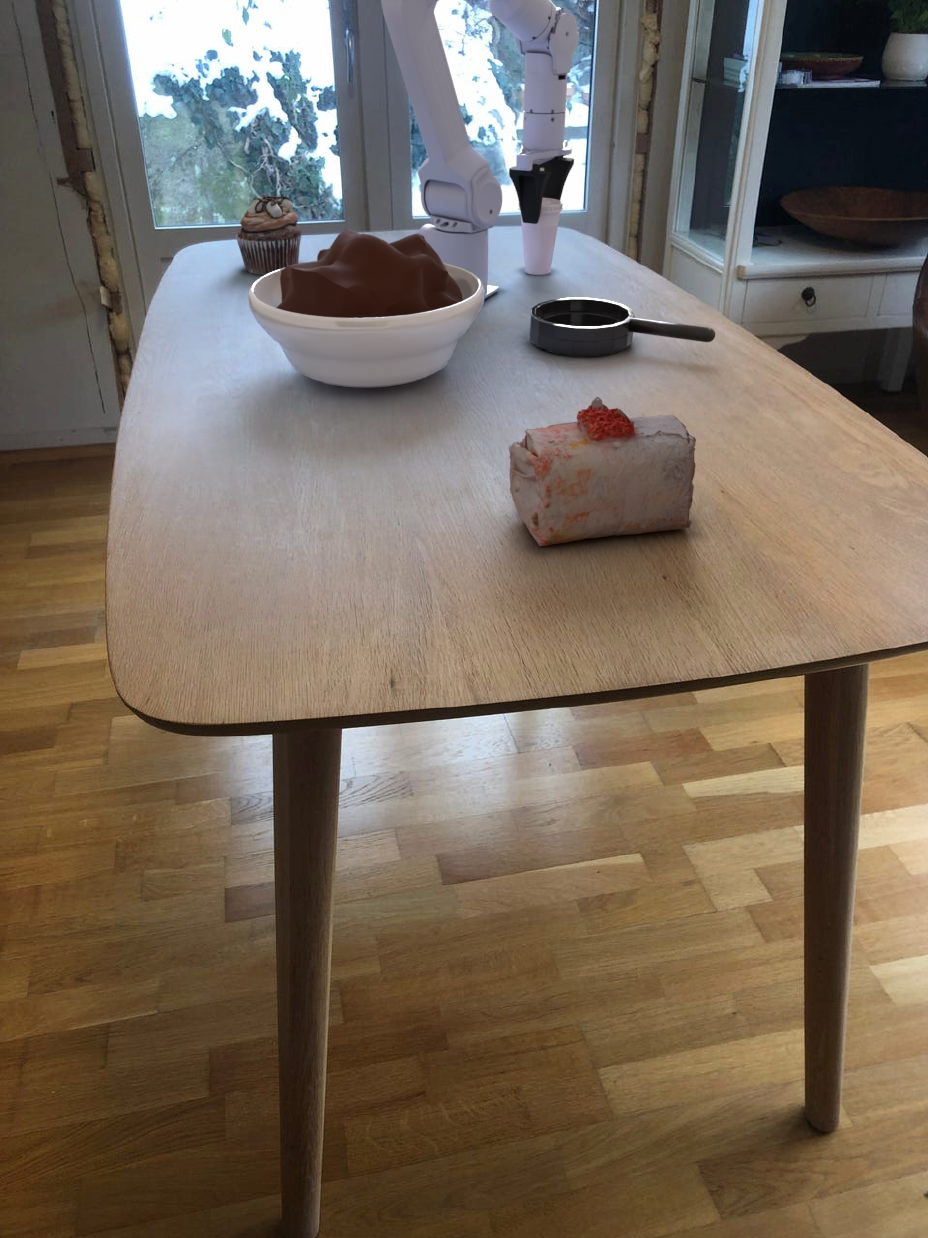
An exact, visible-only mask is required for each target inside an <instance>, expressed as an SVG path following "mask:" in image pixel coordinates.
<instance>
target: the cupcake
mask: <svg viewBox="0 0 928 1238" xmlns="http://www.w3.org/2000/svg"><path fill="white" fill-rule="evenodd" d="M293 206H294V205H293V202H292V201H291V199H290V197H288V196H283V195H282V196H270V195H267V194H262V196H260V197H253V202H252V203H251V205H249V207H248V208H247V209H246V212H245V213H244V216H243V217H242V218H241V220H240V222H239V224H240V226H241V228H240V229H239V230H238V231H237V233H236V234H235V239H236V241H237V245H238V248H239V252H240V255H241V258H242V261H243V262H242V263H243V265H244V267H245V268H244V269H245V271H246V272H247V273H250V274H253V275H260V276H264V275H266V274H268V273H270V272H273V271H275V270H278V269H281V268H284V267H287V266H290V265H293V264H299V260H300V248H301V247H300V245H301V240H302V233H303V232H302V229H301V226H300V225H299V223H298V222H299V217H298V216H299V215H297V213H296V212H294V211H293V209H294V208H293Z"/></svg>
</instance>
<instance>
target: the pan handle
mask: <svg viewBox="0 0 928 1238" xmlns="http://www.w3.org/2000/svg"><path fill="white" fill-rule="evenodd" d="M629 319H630V320H631V321H630V326H629V331H630V332H633V333H634V334H644V335H651V336H657V337H664V338H672V339H680V340H687V341H693V342H702V343H711V342H713V341H714V340H715V338H716V331H715V330H714V328H712V327H707V326H699V325H692V324H691V325H690V324H685V323H684V324H683V323H677V322H669V321H661V320H654V319H645V318H637V317H635V318H629Z"/></svg>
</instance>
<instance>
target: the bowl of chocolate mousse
mask: <svg viewBox="0 0 928 1238" xmlns="http://www.w3.org/2000/svg"><path fill="white" fill-rule="evenodd" d="M484 297H485V290H484V287H483V284H482V282H481V281H480V279H479V278H478V277H477V276H476V275H474V274H473V273H471V272H469V271H467V270H465V269H463V268H460V267H457V266H454V265H450V264H447V263H442V261H441V259H440V257H439V255H438V254H437V253H436V252H435V251H434V249H433V248H432V247H431V246H430V244H428V243H427V242H426V240H425V238H424V236H423V235H420V234H418V233H412V234H409V235H407V236H405V237H402V238H400V239H397V240H395V241H392V242H387V241H386V240H384V239H382V238H380V237H378V236H375V235H372V234H369V233H359V232H358V231H356V230H354V229H344V230H343V231H342V232H340V233H339V234H338V235H337V236H336V238H335V239H334V241H333V242H332V243H331V245H330V247H329V248H323V249H320V250H319V252H318V254H317V257H316V260H312V261H305V262H298V264H293V265H290V266H287V267H284V268H281V269H278V270H275V271H273V272H270V273H268V274H266V275H261V276H260V277H259V278H257V279H256V280H255V281H254V282H253V283H252V284H251V286H250V287H249V290H248V294H247V302H248V303H247V304H248V308H249V310H250V313H251V314H252V316H253V318H254V319H255V321H256V322H257V323H258V325H259V326H260V327H261V328H262V330H263V331H264V332H265V333H266V334H267V335H268V336H269V337H270V338H271V339H273V340H274V341H275V342H276V343H278V345H280V348H281V350H282V352H283V355H284V356H285V358H286V359H287V360H288V362H289V364H290V365H291V366H292V368H293V369H294V370H295V371H296V372H297V373H299V374H301V375H303V376H304V377H307V378H309V379H311V380H314V381H316V382H319V383H322V384H325V385H332V386H337V387H345V388H384V387H385V388H386V387H393V386H399V385H405V384H409V383H414V382H417V381H420V380H424V379H425V378H427V377H430V376H432V375H434V374H435V373H437V372H439V371H440V370H442V369H444V368H445V367H446V366H447V365H448V363H450V361H451V359H452V357H453V355H454V353H455V351H456V348H457V345H458V342H459V340H460V338H461V337H462V336H463V335H464V334H466V333H467V331H468V330H469V329H470V327H471V326H472V325H473V323H474V322H475V320H476V319H477V317H478V316H479V314H480V313H481V310H482V308H483V306H484V303H485V299H484Z"/></svg>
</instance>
